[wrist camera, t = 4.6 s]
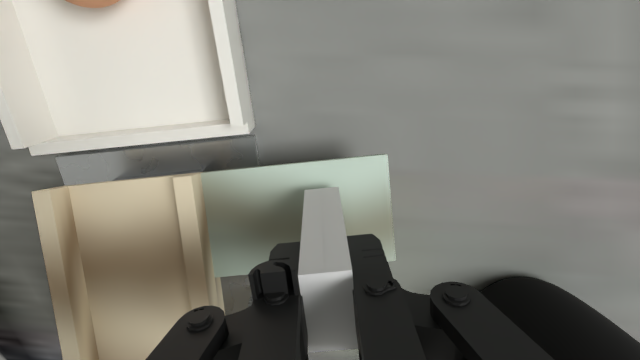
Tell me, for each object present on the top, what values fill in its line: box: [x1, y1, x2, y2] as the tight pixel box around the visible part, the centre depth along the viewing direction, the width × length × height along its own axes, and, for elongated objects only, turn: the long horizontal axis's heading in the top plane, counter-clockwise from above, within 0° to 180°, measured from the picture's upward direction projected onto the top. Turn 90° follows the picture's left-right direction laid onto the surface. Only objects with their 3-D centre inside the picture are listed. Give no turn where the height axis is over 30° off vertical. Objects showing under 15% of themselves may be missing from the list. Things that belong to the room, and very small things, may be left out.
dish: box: [0, 0, 255, 156], centre depth 17 cm, size 11×11×4 cm
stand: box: [55, 135, 260, 360], centre depth 21 cm, size 21×11×8 cm, turn 6°
